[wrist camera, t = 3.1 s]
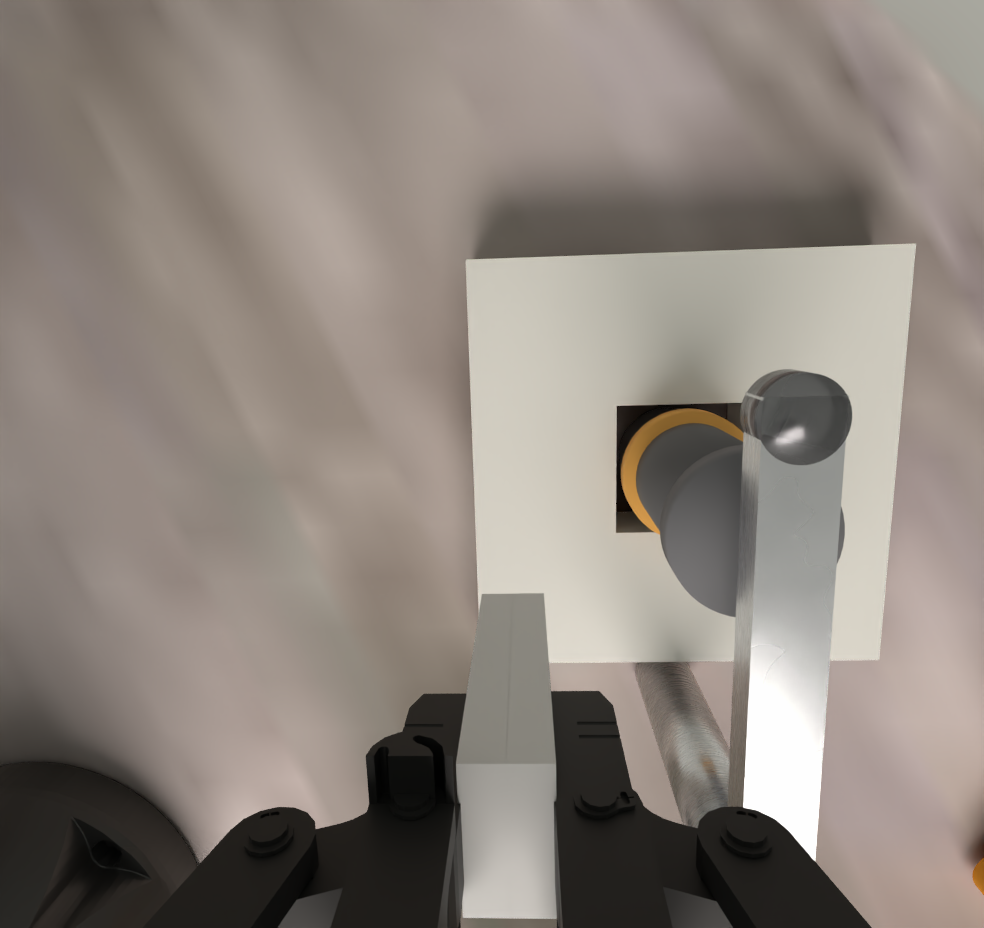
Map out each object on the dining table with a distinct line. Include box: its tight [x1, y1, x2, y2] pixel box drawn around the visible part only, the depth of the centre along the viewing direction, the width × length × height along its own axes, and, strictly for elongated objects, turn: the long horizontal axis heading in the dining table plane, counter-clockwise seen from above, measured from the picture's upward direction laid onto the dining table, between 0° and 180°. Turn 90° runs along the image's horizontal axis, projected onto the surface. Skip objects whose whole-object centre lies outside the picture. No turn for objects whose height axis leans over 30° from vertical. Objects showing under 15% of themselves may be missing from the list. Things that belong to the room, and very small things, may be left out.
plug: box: [619, 407, 845, 617], centre depth 24 cm, size 5×5×12 cm
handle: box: [636, 369, 852, 861], centre depth 23 cm, size 2×16×14 cm, turn 2°
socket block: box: [466, 244, 916, 663], centre depth 28 cm, size 16×16×3 cm
